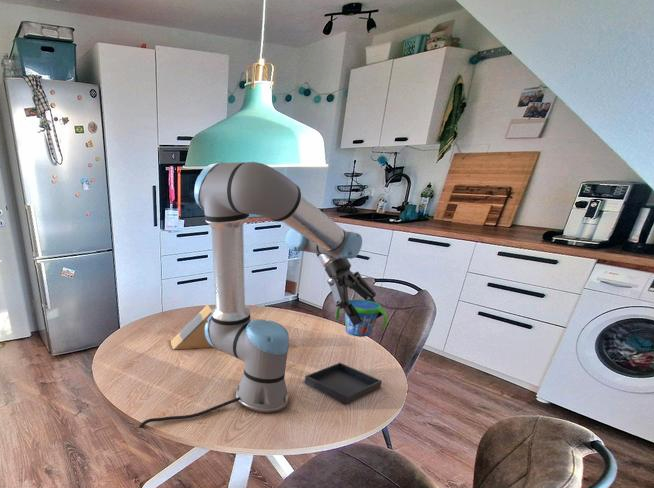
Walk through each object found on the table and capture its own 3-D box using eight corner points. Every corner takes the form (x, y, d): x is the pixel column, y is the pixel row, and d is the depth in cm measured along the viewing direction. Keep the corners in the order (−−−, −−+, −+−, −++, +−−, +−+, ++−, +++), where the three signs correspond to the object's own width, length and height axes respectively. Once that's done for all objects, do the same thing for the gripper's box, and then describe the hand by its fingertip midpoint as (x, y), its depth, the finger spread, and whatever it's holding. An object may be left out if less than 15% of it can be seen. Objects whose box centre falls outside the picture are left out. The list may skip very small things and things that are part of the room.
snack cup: (326, 330, 130) (331, 301, 126) (343, 323, 136) (348, 295, 132) (373, 345, 119) (380, 313, 115) (388, 336, 125) (395, 306, 121)
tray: (345, 404, 113) (347, 397, 112) (304, 382, 124) (305, 375, 123) (380, 387, 121) (382, 380, 120) (338, 368, 133) (339, 362, 132)
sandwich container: (170, 340, 156) (169, 305, 150) (207, 338, 158) (208, 303, 152) (172, 349, 148) (172, 312, 142) (212, 347, 150) (213, 310, 144)
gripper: (348, 264, 137) (380, 319, 132) (303, 273, 126) (337, 332, 120) (364, 252, 131) (399, 308, 125) (319, 259, 120) (355, 321, 114)
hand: (368, 320), depth 123 cm, fingers closed on snack cup, 11 cm apart
